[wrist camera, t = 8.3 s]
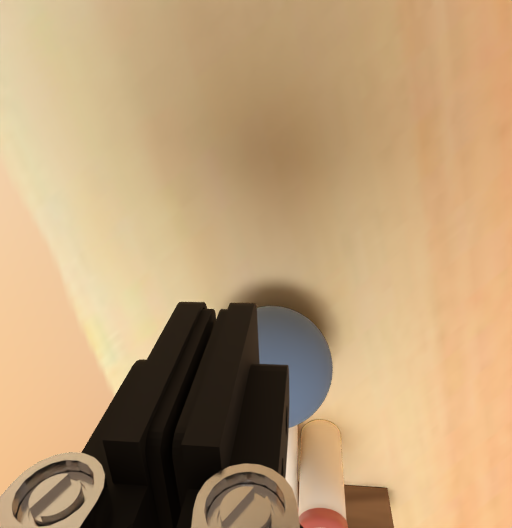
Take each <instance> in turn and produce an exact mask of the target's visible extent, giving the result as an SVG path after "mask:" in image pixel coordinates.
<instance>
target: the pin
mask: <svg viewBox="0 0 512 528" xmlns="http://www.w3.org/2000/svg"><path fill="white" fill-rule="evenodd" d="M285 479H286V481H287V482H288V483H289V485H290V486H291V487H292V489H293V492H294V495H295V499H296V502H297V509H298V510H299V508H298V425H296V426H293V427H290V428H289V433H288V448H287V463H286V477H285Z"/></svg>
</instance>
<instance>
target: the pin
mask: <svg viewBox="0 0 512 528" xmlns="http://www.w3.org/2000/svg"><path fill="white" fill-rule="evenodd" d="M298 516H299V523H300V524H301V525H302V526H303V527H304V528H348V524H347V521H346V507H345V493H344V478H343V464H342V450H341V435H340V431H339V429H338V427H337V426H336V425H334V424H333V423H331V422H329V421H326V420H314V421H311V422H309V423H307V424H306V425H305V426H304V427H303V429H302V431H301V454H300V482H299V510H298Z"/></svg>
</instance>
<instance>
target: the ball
mask: <svg viewBox="0 0 512 528" xmlns="http://www.w3.org/2000/svg"><path fill="white" fill-rule="evenodd" d="M257 321H258V341H259V361H260V364H277V365H288V366H289V428H290V427H293V426H296V425H298V424H300V423H302V422H303V421H305V420H306V419H308V418H309V417H310V416H311V415H313V414H314V413H315V412H316V411H317V410H318V408H319V407H320V406H321V404H322V403H323V401H324V399H325V398H326V396H327V393H328V391H329V388H330V385H331V380H332V368H333V367H332V358H331V353H330V349H329V347H328V344H327V342H326V339H325V338H324V336H323V335H322V333H321V331H320V330H319V329H318V328H317V326H316V325H315V324H314V323H313V322H312V321H310V320H309V319H308V318H307V317H305V316H304V315H302V314H300V313H298V312H296V311H294V310H292V309H289V308H285V307H279V306H264V307H258V308H257Z"/></svg>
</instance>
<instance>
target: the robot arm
mask: <svg viewBox="0 0 512 528" xmlns="http://www.w3.org/2000/svg"><path fill="white" fill-rule="evenodd" d="M288 433H289V366H288V365H277V364H260V361H259V341H258V321H257V307H256V304H255V303H230V305H229V307H228V309H221V310H220V311H219V314H218V317H217V319H216V315H215V310H214V309H207V306H206V304H205V302H179V303H178V304H177V306H176V308H175V310H174V312H173V313H172V315H171V317H170V319H169V321H168V322H167V324H166V326H165V328H164V330H163V331H162V333H161V335H160V337H159V339H158V340H157V342H156V344H155V346H154V348H153V349H152V351H151V353H150V355H149V357H148V358H147V360H138V361H136V362H135V364H134V365H133V366H132V368H131V370H130V371H129V373H128V375H127V376H126V378H125V380H124V381H123V383H122V385H121V386H120V388H119V390H118V392H117V393H116V395H115V397H114V398H113V400H112V402H111V403H110V405H109V407H108V409H107V410H106V412H105V414H104V415H103V417H102V419H101V421H100V422H99V424H98V426H97V427H96V429H95V431H94V432H93V434H92V436H91V438H90V439H89V441H88V442H87V444H86V446H85V448H84V449H83V451H82V453H72V452H71V453H70V452H69V453H64V454H59V455H55V456H52V457H49V458H47V459H45V460H42V461H40V462H38V463H37V464H35V465H34V466H32V467H30V468H29V469H27V470H26V471H25V472H24V473H22V474H21V475H20V476H19V477H18V478H17V479H16V480H15V481H14V482H13V483H12V484H11V485H10V486H9V487H8V489H7V490H6V491H5V492H4V493H3V494H2V495H1V497H0V528H304V527H303V526H302V525H301V524H300V523H299V516H298V509H297V502H296V499H295V495H294V492H293V489H292V487H291V486H290V485H289V483H288V482H287V481H286V479H285V477H286V463H287V448H288Z"/></svg>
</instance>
